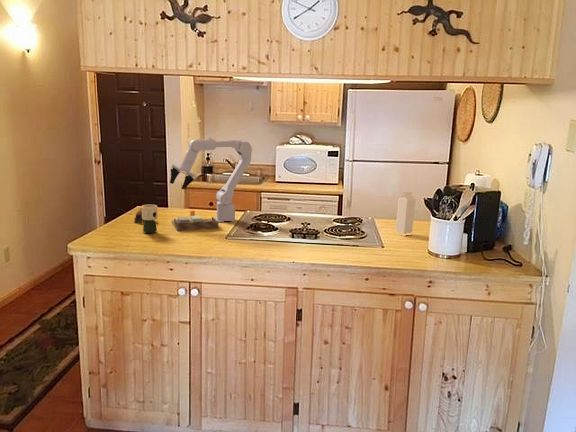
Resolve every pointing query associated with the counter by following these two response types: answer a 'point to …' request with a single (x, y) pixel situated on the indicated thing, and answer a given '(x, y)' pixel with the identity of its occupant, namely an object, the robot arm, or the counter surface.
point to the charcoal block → (183, 219)
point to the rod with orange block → (194, 217)
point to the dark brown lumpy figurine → (139, 217)
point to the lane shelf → (196, 225)
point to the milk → (405, 213)
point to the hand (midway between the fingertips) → (177, 186)
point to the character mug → (149, 218)
